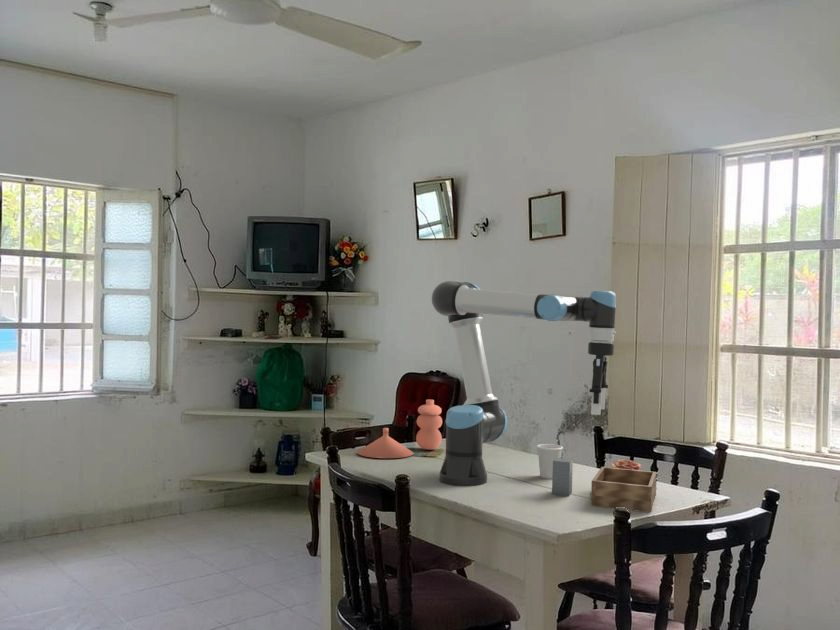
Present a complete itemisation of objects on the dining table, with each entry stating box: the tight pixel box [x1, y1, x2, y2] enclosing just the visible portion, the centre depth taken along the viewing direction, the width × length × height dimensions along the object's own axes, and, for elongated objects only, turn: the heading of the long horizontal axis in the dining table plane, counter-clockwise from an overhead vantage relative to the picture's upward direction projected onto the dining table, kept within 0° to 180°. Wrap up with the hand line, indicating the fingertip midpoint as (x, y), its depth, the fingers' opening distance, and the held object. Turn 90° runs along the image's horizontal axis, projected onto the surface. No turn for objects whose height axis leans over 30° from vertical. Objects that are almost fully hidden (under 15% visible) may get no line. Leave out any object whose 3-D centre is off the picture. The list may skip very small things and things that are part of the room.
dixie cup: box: [536, 443, 564, 480], centre depth 243 cm, size 8×8×10 cm
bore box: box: [590, 466, 658, 513], centre depth 214 cm, size 16×21×7 cm
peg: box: [551, 457, 574, 497], centre depth 221 cm, size 5×5×10 cm
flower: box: [610, 458, 642, 471], centre depth 235 cm, size 10×9×8 cm
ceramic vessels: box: [356, 399, 443, 459], centre depth 282 cm, size 35×21×19 cm, turn 123°
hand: (597, 411), depth 226 cm, fingers open, 13 cm apart
